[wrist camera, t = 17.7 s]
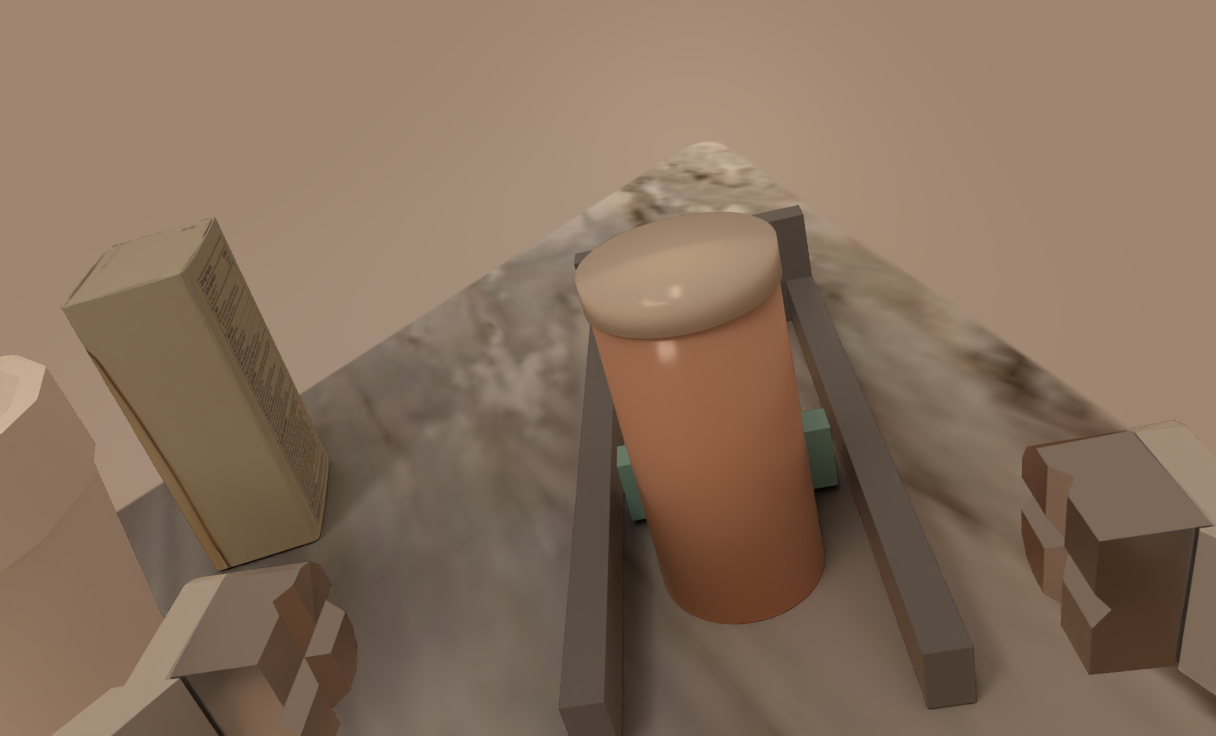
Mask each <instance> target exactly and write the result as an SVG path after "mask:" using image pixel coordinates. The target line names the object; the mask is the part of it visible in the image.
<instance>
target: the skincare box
mask: <svg viewBox="0 0 1216 736" xmlns="http://www.w3.org/2000/svg"><path fill="white" fill-rule="evenodd" d="M61 309H62V310H63V312H64V313H65V315H66V317H67V319H68V320H69V322H70V324H71V325H72V327H73V329H74V331H75V332H76V334H77V336H78V337H79V339H80V341H81V342H82V344H83V345H84V347H85V349H86V351H87V352H88V354H89V355H90V357H91V359H92V361H93V362H94V364H95V365H96V367H97V369H98V371H99V372H100V374H101V376H102V378H103V380H104V381H105V383H106V385H107V386H108V388H109V390H110V391H111V393H112V395H113V396H114V398H115V399H116V401H117V403H118V404H119V406H120V408H121V410H122V411H123V413H124V415H125V416H126V418H127V420H128V422H129V423H130V425H131V427H132V428H133V430H134V432H135V434H136V435H137V437H138V439H139V440H140V442H141V444H142V445H143V447H144V449H145V450H146V452H147V454H148V455H149V457H150V459H151V461H152V462H153V464H154V466H155V467H156V469H157V471H158V472H159V474H160V476H161V477H162V479H163V481H164V482H165V484H166V486H167V488H168V489H169V491H170V493H171V494H172V496H173V498H174V499H175V501H176V503H177V504H178V506H179V508H180V510H181V511H182V513H183V515H184V516H185V518H186V519H187V521H188V523H189V524H190V526H191V528H192V530H193V531H194V533H195V535H196V536H197V538H198V540H199V541H200V543H201V545H202V546H203V548H204V550H205V551H206V553H207V554H208V556H209V558H210V559H211V561H212V563H213V565H214V566H215V568H216V569H217V570H219V571H221V570H224V569H227V568H230V567H233V566H237V565H240V564H243V563H246V562H250V561H253V560H256V559H259V558H263V557H266V556H269V555H272V554H275V553H278V552H281V551H285V550H288V549H291V548H294V547H297V546H301V545H304V544H307V543H311V542H313V541H316V540H317V539H319V537H320V532H321V526H322V520H323V513H324V506H325V497H326V489H327V481H328V470H329V457H328V455H327V453H326V450H325V448H324V446H323V444H322V442H321V440H320V438H319V436H318V434H317V432H316V430H315V427H314V425H313V423H312V421H311V419H310V417H309V415H308V413H307V411H306V408H305V406H304V404H303V402H302V400H301V398H300V396H299V394H298V391H297V389H296V387H295V385H294V383H293V381H292V379H291V377H290V375H289V372H288V370H287V368H286V366H285V364H284V362H283V360H282V358H281V355H280V353H279V351H278V349H277V347H276V345H275V343H274V341H273V339H272V337H271V334H270V332H269V330H268V328H267V326H266V324H265V322H264V319H263V317H262V315H261V313H260V311H259V309H258V307H257V305H256V303H255V300H254V298H253V296H252V294H251V292H250V290H249V288H248V286H247V283H246V281H245V279H244V277H243V275H242V273H241V271H240V269H239V267H238V265H237V263H236V260H235V258H234V256H233V254H232V252H231V250H230V247H229V246H228V243H227V241H226V239H225V237H224V235H223V233H222V231H221V229H220V227H219V224H218V222H217V220H216V218H215V217H210V218H207V219H204V220H202V221H198V222H194V223H191V224H187V225H184V226H180V227H177V228H173V229H170V230H166V231H163V232H159V233H156V234H153V235H148V236H145V237H141V238H138V239H134V240H131V241H128V242H123V243H120V244H115V245H112V246H110V247H108V248H107V249H106V250H105V252H104V253H103V254H102V255H101V256H100V257H99V258H98V260H97V261H96V262H95V264H94V265H93V266H92V267H91V268H90V270H89V271H88V272H87V273H86V275H85V276H84V277H83V279H82V280H81V281H80V282H79V284H78V285H77V286H76V287H75V288H74V290H73V291H72V293H71V294H70V295H69V296H68V298H67V299H66V300H65V301H64V303H63V304H62V305H61Z"/></svg>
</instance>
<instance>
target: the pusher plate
mask: <svg viewBox="0 0 1216 736" xmlns="http://www.w3.org/2000/svg"><path fill="white" fill-rule="evenodd" d="M801 415H802V421H803V427H804V433H805V439H806V445H807V452H808V458H809V464H810V470H811V476H812V483H813V489H816V488H822V487H827V486H833V485H838V478H837V471H836V464H835V457H834V450H833V443H832V436H831V429H830V425H829V423H828V420H827V417H826V414H825V411H824V408H820V409H814V410H809V411H804V412H801ZM617 469H618V472H619V476H620V479H621V483H622V486H623V489H624V493H625V496H626V500H627V503H628V506H629V510H630V513H631V517H632V520H633V521H635V520H640V519H646V516H645V513H644V509H643V506H642V502H641V498H640V495H639V491H638V488H637V484H636V481H635V477H634V474H633V470H632V467H631V463H630V460H629V456H628V453H627V449H626V446H625V445H623V446H618V447H617Z"/></svg>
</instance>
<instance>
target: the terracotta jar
mask: <svg viewBox="0 0 1216 736" xmlns="http://www.w3.org/2000/svg"><path fill="white" fill-rule="evenodd" d="M781 278H782V267H781V261H780V254H779V248H778V242H777V236H776V231H775V230H774V228H773V227H772V226H771V225H770V224H769V223H768V222H766V221H764V220H763V219H760V218H758V217H755V216H751V215H747V214H741V213H733V212H706V213H695V214H688V215H681V216H676V217H671V218H667V219H663V220H659V221H655V222H652V223H649V224H645V225H642V226H640V227H637V228H634V229H632V230H629V231H627V232H624V233H622V234H620V235H618V236H616V237H614V238H612V239H610V240H608V241H606V242H605V243H603V244H602V245H600V246H598V247H597V248H596V249H594V250H593V251H592V252H590V253H589V254H588V255H587V256H586V257H585V258H584V259H583V260H582V262H581V263H580V264H579V266H578V268H577V269H576V273H575V283H576V286H577V290H578V293H579V297H580V300H581V304H582V307H583V311H584V314H585V317H586V319H587V321H588V322H589V323H590V324H591V326H592V329H593V333H594V336H595V340H596V343H597V347H598V350H599V354H600V357H601V361H602V364H603V368H604V371H605V375H606V378H607V382H608V386H609V389H610V393H611V396H612V400H613V403H614V407H615V410H616V414H617V417H618V421H619V424H620V428H621V431H622V435H623V438H624V442H625V446H626V449H627V453H628V456H629V460H630V463H631V467H632V470H633V474H634V477H635V481H636V484H637V488H638V491H639V495H640V498H641V502H642V506H643V509H644V513H645V516H646V520H647V523H648V527H649V530H650V534H651V537H652V541H653V544H654V548H655V551H656V555H657V558H658V562H659V566H660V569H661V573H662V576H663V580H664V583H665V586H666V589H667V591H668V593H669V595H670V596H671V598H672V599H673V600H674V601H675V603H676V604H677V605H679V606H680V607H681V608H682V609H683V610H685V611H687V612H688V613H690V614H692V615H694V616H696V617H698V618H701V619H704V620H707V621H712V622H717V623H725V624H743V623H752V622H757V621H762V620H765V619H769V618H772V617H775V616H777V615H779V614H782V613H784V612H786V611H788V610H789V609H791V608H793V607H794V606H796V605H797V604H799V603H800V602H801V601H803V600H804V599H805V598H806V597H807V596H808V595H809V594H810V593H811V592H812V590H813V589H814V588H815V587H816V585H817V583H818V581H819V580H820V577H821V575H822V572H823V568H824V550H823V544H822V538H821V532H820V526H819V520H818V513H817V507H816V501H815V495H814V489H813V483H812V476H811V470H810V464H809V458H808V452H807V445H806V439H805V433H804V427H803V421H802V415H801V408H800V402H799V396H798V390H797V384H796V378H795V371H794V365H793V359H792V353H791V347H790V341H789V334H788V328H787V322H786V316H785V310H784V304H783V297H782V291H781V285H780V281H781Z"/></svg>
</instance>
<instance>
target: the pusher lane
mask: <svg viewBox="0 0 1216 736" xmlns="http://www.w3.org/2000/svg"><path fill="white" fill-rule="evenodd" d="M752 216H755V217H758V218H760V219H763V220H764V221H766V222H768V223H769V224H770V225H771V226H772V227H773V228H774V230H775V231H776V236H777V242H778V248H779V254H780V261H781V267H782V278H781V281H780V285H781V291H782V297H783V304H784V310H785V316H786V320H790V319H792V322H793V325H794V328H795V331H796V333H797V336H798V339H799V342H800V345H801V348H802V351H803V353H804V356H805V359H806V362H807V365H808V368H809V371H810V373H811V376H812V379H813V382H814V385H815V388H816V391H817V393H818V396H819V399H820V402H821V405H822V408H824V411H825V414H826V417H827V420H828V423H829V425H830V429H831V433H832V436H833V439H834V442H835V445H836V448H837V450H838V453H839V456H840V459H841V462H842V465H843V468H844V470H845V473H846V476H847V479H848V482H849V485H850V488H851V490H852V493H853V496H854V499H855V502H856V505H857V507H858V510H859V513H860V516H861V519H862V522H863V525H864V527H865V530H866V533H867V536H868V539H869V542H870V545H871V547H872V550H873V553H874V556H875V559H876V562H877V565H878V567H879V570H880V573H881V576H882V579H883V582H884V584H885V587H886V590H887V593H888V596H889V599H890V602H891V604H892V607H893V610H894V613H895V616H896V619H897V622H898V624H899V627H900V630H901V633H902V636H903V639H904V642H905V644H906V647H907V650H908V653H909V656H910V659H911V662H912V664H913V667H914V670H915V673H916V676H917V679H918V681H919V684H920V687H921V690H922V693H923V696H924V699H925V701H926V704H927V707H928V709H932V708H939V707H946V706H953V705H960V704H967V703H975V702H977V700H976V683H975V665H974V647H973V645H972V643H971V640H970V638H969V636H968V633H967V631H966V629H965V627H964V624H963V622H962V620H961V617H960V615H959V613H958V610H957V608H956V606H955V604H954V601H953V599H952V597H951V594H950V592H949V590H948V587H947V585H946V583H945V581H944V578H943V576H942V574H941V571H940V569H939V567H938V564H937V562H936V560H935V558H934V555H933V553H932V551H931V548H930V546H929V544H928V541H927V539H926V537H925V535H924V532H923V530H922V528H921V525H920V523H919V521H918V519H917V516H916V514H915V512H914V509H913V507H912V505H911V502H910V500H909V498H908V496H907V493H906V491H905V489H904V486H903V484H902V482H901V479H900V477H899V475H898V473H897V470H896V468H895V466H894V463H893V461H892V459H891V456H890V454H889V452H888V450H887V447H886V445H885V443H884V440H883V438H882V436H881V433H880V431H879V429H878V427H877V424H876V422H875V420H874V417H873V415H872V413H871V410H870V408H869V406H868V404H867V401H866V399H865V397H864V394H863V392H862V390H861V388H860V385H859V383H858V381H857V378H856V376H855V374H854V371H853V369H852V367H851V365H850V362H849V360H848V358H847V355H846V353H845V351H844V348H843V346H842V344H841V342H840V339H839V337H838V335H837V332H836V330H835V328H834V325H833V323H832V321H831V319H830V316H829V314H828V312H827V309H826V307H825V305H824V302H823V300H822V298H821V296H820V293H819V291H818V289H817V286H816V284H815V282H814V280H813V277H812V274H811V266H810V259H809V252H808V245H807V238H806V231H805V224H804V217H803V213H802V211H801V209H800V207H799V205H797V206H793V207H788V208H783V209H779V210H774V211H770V212H765V213H761V214H756V215H752ZM592 251H593V250H592ZM592 251H587V252H583V253H578V254H576V255H575V263H574V265H575V269H577V268H578V266H579V264H580V263H581V262H582V260H583V259H584V258H585V257H586V256H587V255H588V254H589V253H590V252H592ZM623 445H624V438H623V435H622V431H621V428H620V424H619V421H618V417H617V414H616V410H615V407H614V403H613V400H612V396H611V393H610V389H609V386H608V382H607V378H606V375H605V371H604V368H603V364H602V361H601V357H600V354H599V350H598V347H597V343H596V340H595V336H594V333H593V329H592V326H591V324H590V334H589V346H588V358H587V370H586V382H585V395H584V407H583V419H582V431H581V443H580V455H579V468H578V480H577V492H576V504H575V516H574V529H573V541H572V553H571V565H570V577H569V590H568V602H567V614H566V626H565V638H564V650H563V663H562V675H561V687H560V699H559V711H560V713H561V716H562V719H563V721H564V724H565V726H566V729H567V731H568V734H569V736H622V668H623V539H624V489H623V486H622V483H621V479H620V476H619V472H618V469H617V447H618V446H623Z"/></svg>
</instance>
